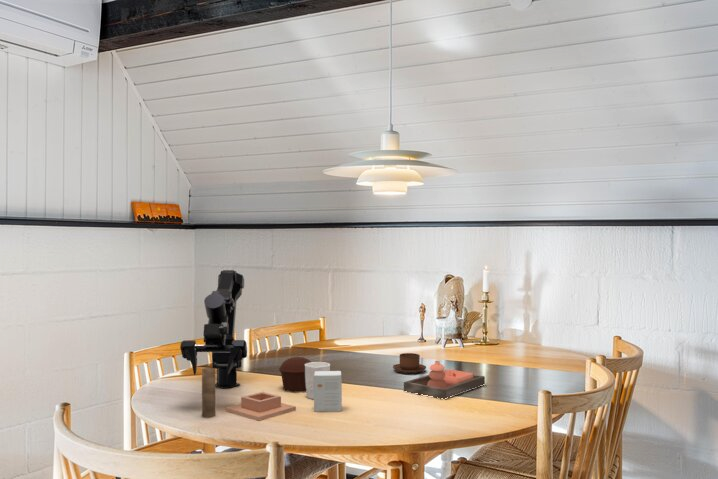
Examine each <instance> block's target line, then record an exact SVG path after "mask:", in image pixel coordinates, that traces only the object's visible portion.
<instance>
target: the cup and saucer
mask: <svg viewBox="0 0 718 479" xmlns="http://www.w3.org/2000/svg"><path fill="white" fill-rule="evenodd" d="M420 359H421V356H420V354H419V353H413V352H405V353H400V354H399V363H397V364H396V363H395V364H393V366H392V368H393V370H394V371H396V372H398V373H403V374H418V373H422V372H424V371H425V370H426V369H427V366H426V365H424V364H420V361H421V360H420Z"/></svg>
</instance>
